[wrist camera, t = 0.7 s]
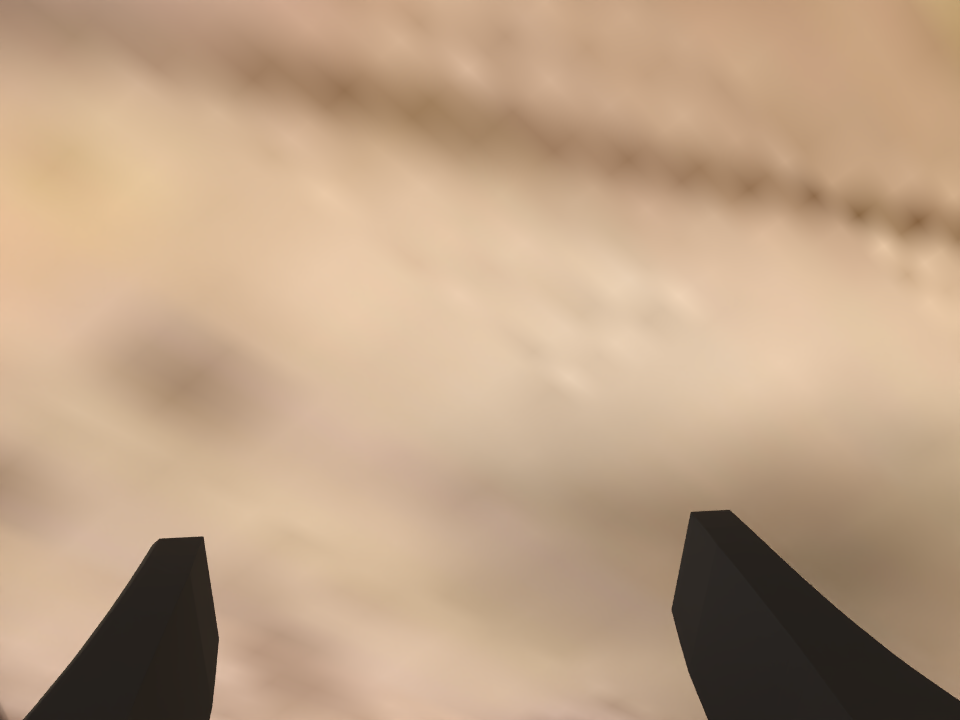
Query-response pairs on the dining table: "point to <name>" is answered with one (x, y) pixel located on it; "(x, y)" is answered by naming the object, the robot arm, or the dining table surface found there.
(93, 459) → the dining table surface
